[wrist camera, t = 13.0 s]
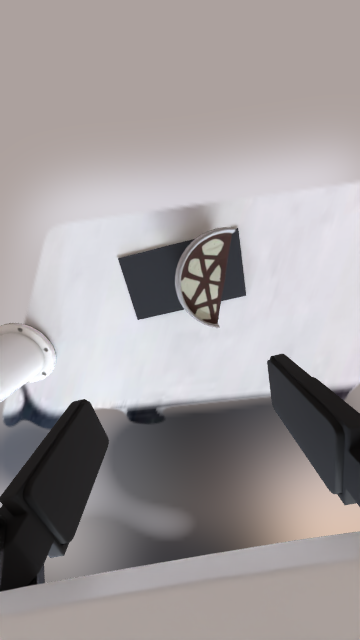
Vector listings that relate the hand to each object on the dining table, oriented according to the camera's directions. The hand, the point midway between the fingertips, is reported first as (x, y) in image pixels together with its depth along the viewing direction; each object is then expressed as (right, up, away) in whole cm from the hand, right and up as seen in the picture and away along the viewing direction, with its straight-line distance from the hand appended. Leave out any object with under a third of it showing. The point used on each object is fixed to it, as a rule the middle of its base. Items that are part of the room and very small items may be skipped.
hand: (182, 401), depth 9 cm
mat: (+1, +12, +21) cm, 24 cm away
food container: (+2, +12, +21) cm, 24 cm away
